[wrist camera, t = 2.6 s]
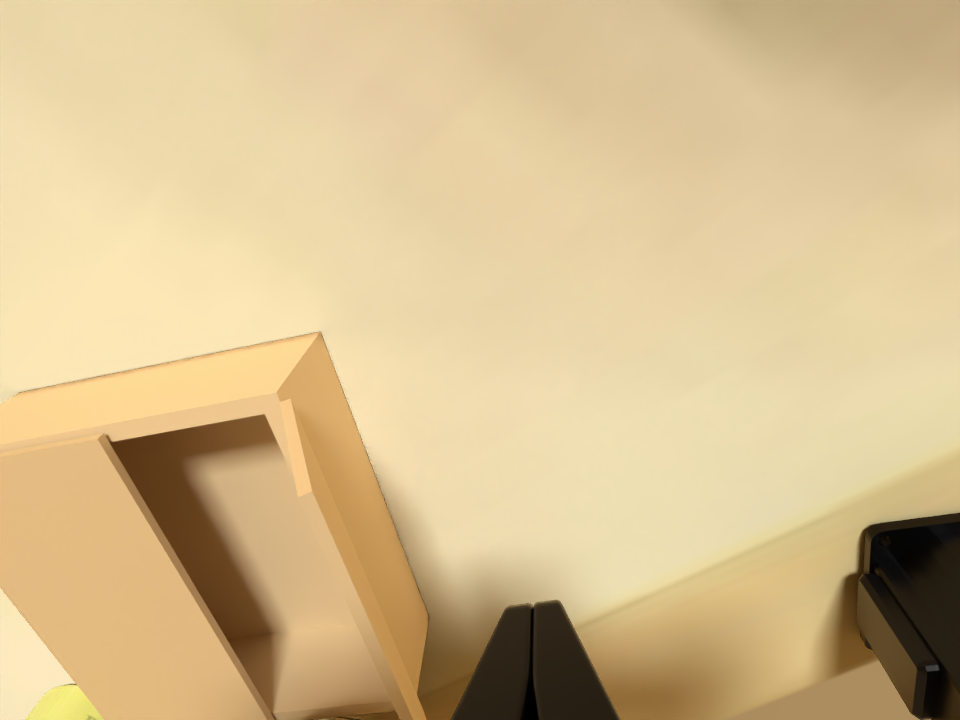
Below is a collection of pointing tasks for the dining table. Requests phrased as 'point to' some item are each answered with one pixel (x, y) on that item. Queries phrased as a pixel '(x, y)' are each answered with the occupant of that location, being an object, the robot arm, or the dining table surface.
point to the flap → (347, 568)
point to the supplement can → (340, 718)
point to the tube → (64, 705)
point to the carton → (199, 539)
